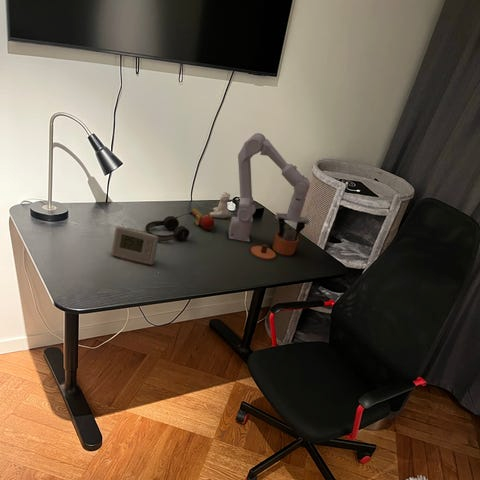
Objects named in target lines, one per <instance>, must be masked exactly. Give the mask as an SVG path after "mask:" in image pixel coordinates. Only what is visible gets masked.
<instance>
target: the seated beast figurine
mask: <svg viewBox="0 0 480 480" xmlns="http://www.w3.org/2000/svg"><path fill="white" fill-rule="evenodd" d="M230 197H231V194H230V193H228V192H223V194H221V195H220V197H219V203H218V205H217V206H216V207H213V208H212V211H211V212H209V213H210V214H211V216H212V218H213V219H226V218H228V217H229V216H230V210H229V207H228V205H229V204H228V202H229V200H230Z"/></svg>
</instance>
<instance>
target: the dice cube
mask: <svg viewBox="0 0 480 480" xmlns="http://www.w3.org/2000/svg"><path fill="white" fill-rule="evenodd" d="M296 233H297V231H296V228H294V227H293V226H289V225H288V226H287V225H284V228H283V231H282V235H281V236H279V237H280V238H281V239H283V240H286V241H294V240H295V237H296Z"/></svg>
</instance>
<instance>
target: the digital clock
mask: <svg viewBox="0 0 480 480" xmlns="http://www.w3.org/2000/svg"><path fill="white" fill-rule="evenodd" d="M156 235H157V234H156ZM156 235H152V234H148V233H146V232H145V231H143V230H138V229H134V228H130V227H124V226H121V225H120V226H119V225H117V226H116V227H115V229H114V234H113V240H112V245H111V252H110V254H111V255H112V256H113V257H117V258H120V259H123V260H127V261H131V262H135V263H139V264H142V265H143V264H145V265H151V266H152V265H154V263H155V258H156V253H157V248H158V243H159V241H158V236H156Z"/></svg>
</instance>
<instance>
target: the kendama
mask: <svg viewBox="0 0 480 480" xmlns="http://www.w3.org/2000/svg"><path fill="white" fill-rule="evenodd" d="M191 212H193V214H192V215H193V216H194V222H195V224H196V226H201V228H202V229H204V230H206V231H210V230H212V229H213V228H214V226H215V220H214V218H213V217H212V216H211V214H210V212H209V213H207V214H206V215H203V214H202V213H201V212H200V211H199V209H197V208H193V209H192V210H191Z"/></svg>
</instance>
